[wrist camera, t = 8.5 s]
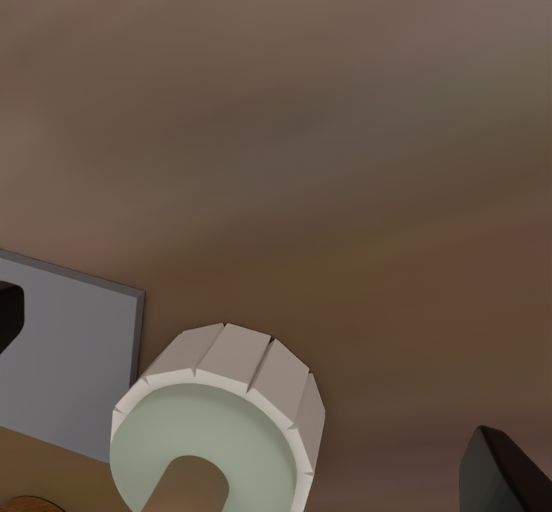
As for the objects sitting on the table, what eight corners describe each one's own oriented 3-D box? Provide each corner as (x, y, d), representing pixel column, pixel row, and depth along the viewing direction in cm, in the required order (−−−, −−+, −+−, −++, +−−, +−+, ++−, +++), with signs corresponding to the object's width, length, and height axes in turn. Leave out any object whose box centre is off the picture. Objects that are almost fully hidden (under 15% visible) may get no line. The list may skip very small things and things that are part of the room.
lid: (314, 417, 18) (289, 531, 14) (278, 553, 21) (246, 687, 17) (130, 360, 20) (46, 447, 15) (119, 498, 23) (46, 607, 18)
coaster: (144, 291, 23) (136, 298, 22) (128, 458, 27) (121, 468, 26) (-47, 235, 25) (-61, 239, 24) (-35, 401, 29) (-46, 409, 28)
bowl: (342, 356, 22) (333, 410, 18) (301, 497, 25) (286, 567, 22) (160, 303, 23) (118, 343, 19) (145, 444, 27) (105, 501, 23)
